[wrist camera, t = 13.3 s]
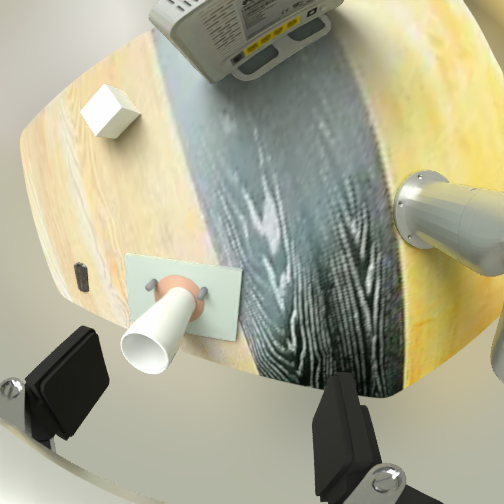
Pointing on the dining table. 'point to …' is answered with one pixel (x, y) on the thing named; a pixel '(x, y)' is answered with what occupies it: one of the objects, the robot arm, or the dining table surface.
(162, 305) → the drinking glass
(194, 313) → the pin nest plate
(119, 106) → the white cube
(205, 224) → the dining table surface
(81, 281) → the block
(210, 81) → the network device
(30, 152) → the dining table surface
